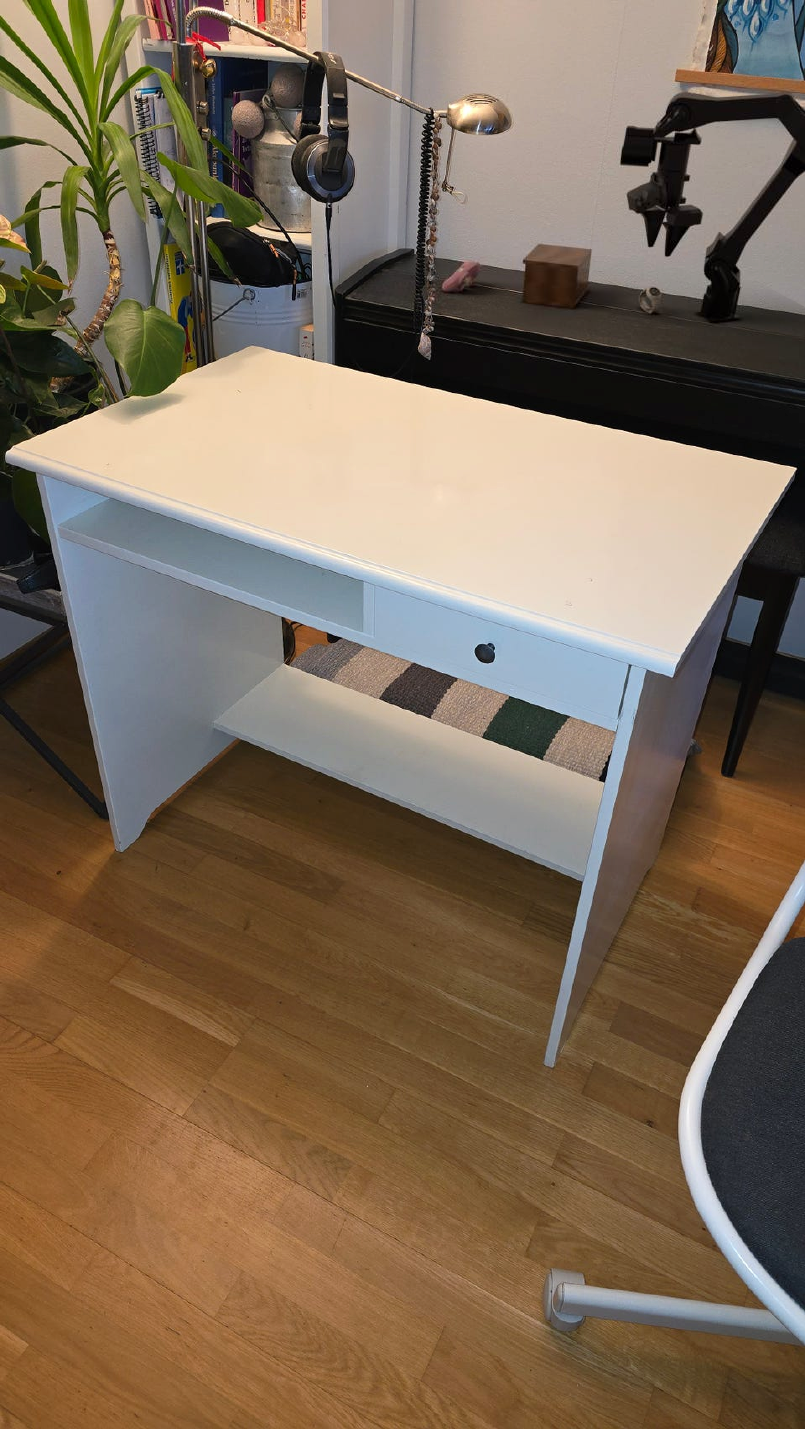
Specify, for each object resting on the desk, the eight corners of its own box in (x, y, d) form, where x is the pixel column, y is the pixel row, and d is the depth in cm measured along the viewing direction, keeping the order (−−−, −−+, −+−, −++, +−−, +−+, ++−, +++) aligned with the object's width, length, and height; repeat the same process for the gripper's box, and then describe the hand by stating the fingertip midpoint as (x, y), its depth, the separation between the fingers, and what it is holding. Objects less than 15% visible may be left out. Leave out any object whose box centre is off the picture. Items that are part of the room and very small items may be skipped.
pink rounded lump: (454, 301, 223) (468, 275, 217) (439, 289, 223) (452, 262, 218) (475, 289, 229) (489, 263, 224) (460, 277, 229) (473, 251, 224)
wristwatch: (648, 316, 211) (652, 292, 208) (634, 306, 216) (637, 283, 212) (662, 314, 212) (667, 290, 209) (648, 305, 216) (651, 281, 213)
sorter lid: (522, 263, 213) (522, 259, 212) (538, 247, 222) (538, 243, 221) (577, 269, 209) (578, 265, 209) (591, 253, 218) (591, 249, 218)
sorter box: (522, 302, 218) (525, 264, 213) (537, 284, 227) (540, 247, 222) (573, 308, 215) (577, 270, 209) (587, 290, 224) (591, 253, 218)
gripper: (613, 161, 200) (603, 243, 211) (660, 182, 187) (646, 269, 197) (662, 157, 203) (649, 238, 213) (711, 178, 190) (695, 263, 200)
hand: (658, 251), depth 206 cm, fingers open, 7 cm apart
